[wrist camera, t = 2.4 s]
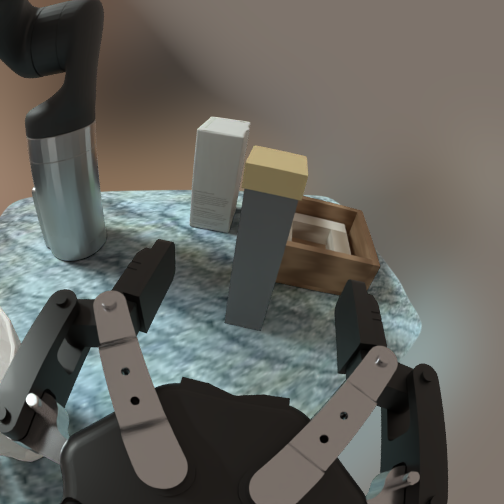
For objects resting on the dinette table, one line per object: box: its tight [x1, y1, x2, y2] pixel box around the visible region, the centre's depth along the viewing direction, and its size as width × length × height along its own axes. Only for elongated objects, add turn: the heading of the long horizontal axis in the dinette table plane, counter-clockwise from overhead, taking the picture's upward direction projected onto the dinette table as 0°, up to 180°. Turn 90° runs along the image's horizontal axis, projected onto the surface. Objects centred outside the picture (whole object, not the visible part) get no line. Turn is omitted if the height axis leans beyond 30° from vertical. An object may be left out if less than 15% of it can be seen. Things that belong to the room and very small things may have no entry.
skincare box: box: [190, 117, 251, 233], centre depth 41 cm, size 8×7×16 cm
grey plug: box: [224, 146, 308, 331], centre depth 26 cm, size 4×4×18 cm
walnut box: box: [275, 196, 380, 295], centre depth 40 cm, size 16×14×6 cm
